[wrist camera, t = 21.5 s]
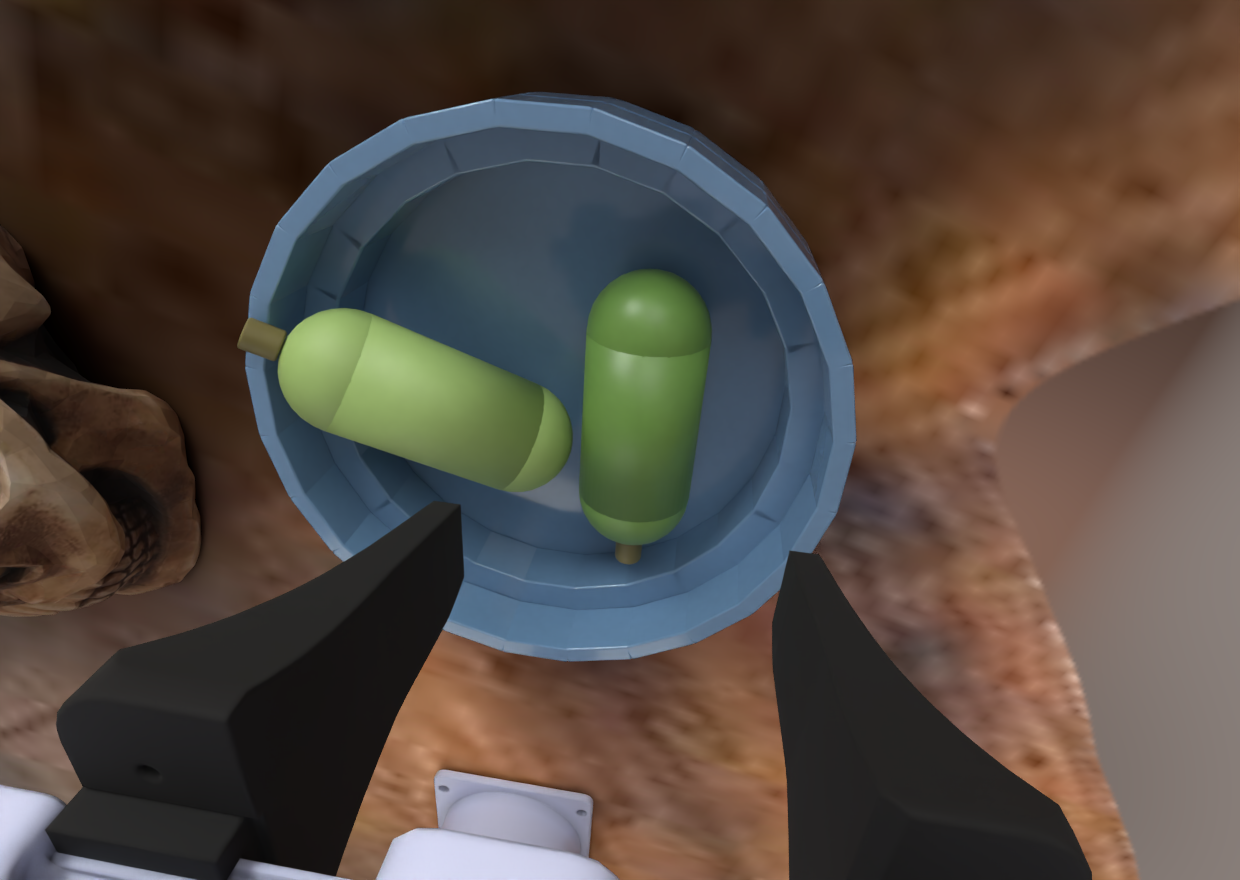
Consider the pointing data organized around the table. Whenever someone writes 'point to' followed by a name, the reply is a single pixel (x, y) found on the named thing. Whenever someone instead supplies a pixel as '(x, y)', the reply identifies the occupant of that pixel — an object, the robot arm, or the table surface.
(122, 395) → the coin bank
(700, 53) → the table surface
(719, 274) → the bowl
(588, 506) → the green zucchini
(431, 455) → the pale zucchini
